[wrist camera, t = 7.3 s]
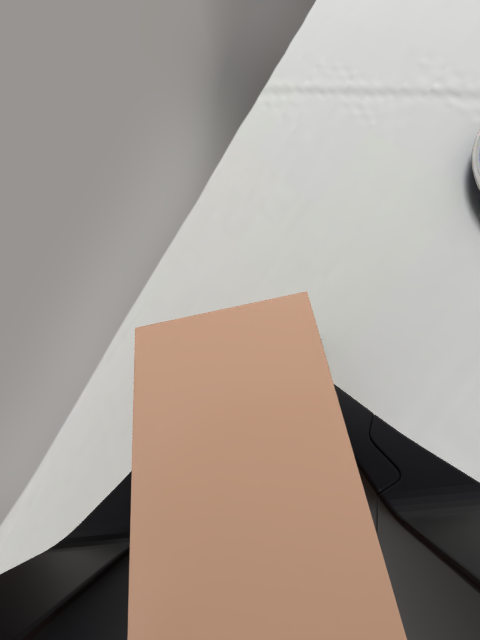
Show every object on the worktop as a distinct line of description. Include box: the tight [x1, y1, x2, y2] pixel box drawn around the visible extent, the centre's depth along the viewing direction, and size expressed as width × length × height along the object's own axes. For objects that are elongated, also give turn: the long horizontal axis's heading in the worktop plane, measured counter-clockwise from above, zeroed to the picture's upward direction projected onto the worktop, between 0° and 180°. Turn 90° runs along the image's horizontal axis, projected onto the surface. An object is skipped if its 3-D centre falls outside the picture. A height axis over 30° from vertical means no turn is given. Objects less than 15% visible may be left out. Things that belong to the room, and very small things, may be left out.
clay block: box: [128, 292, 407, 640], centre depth 9 cm, size 4×3×12 cm
